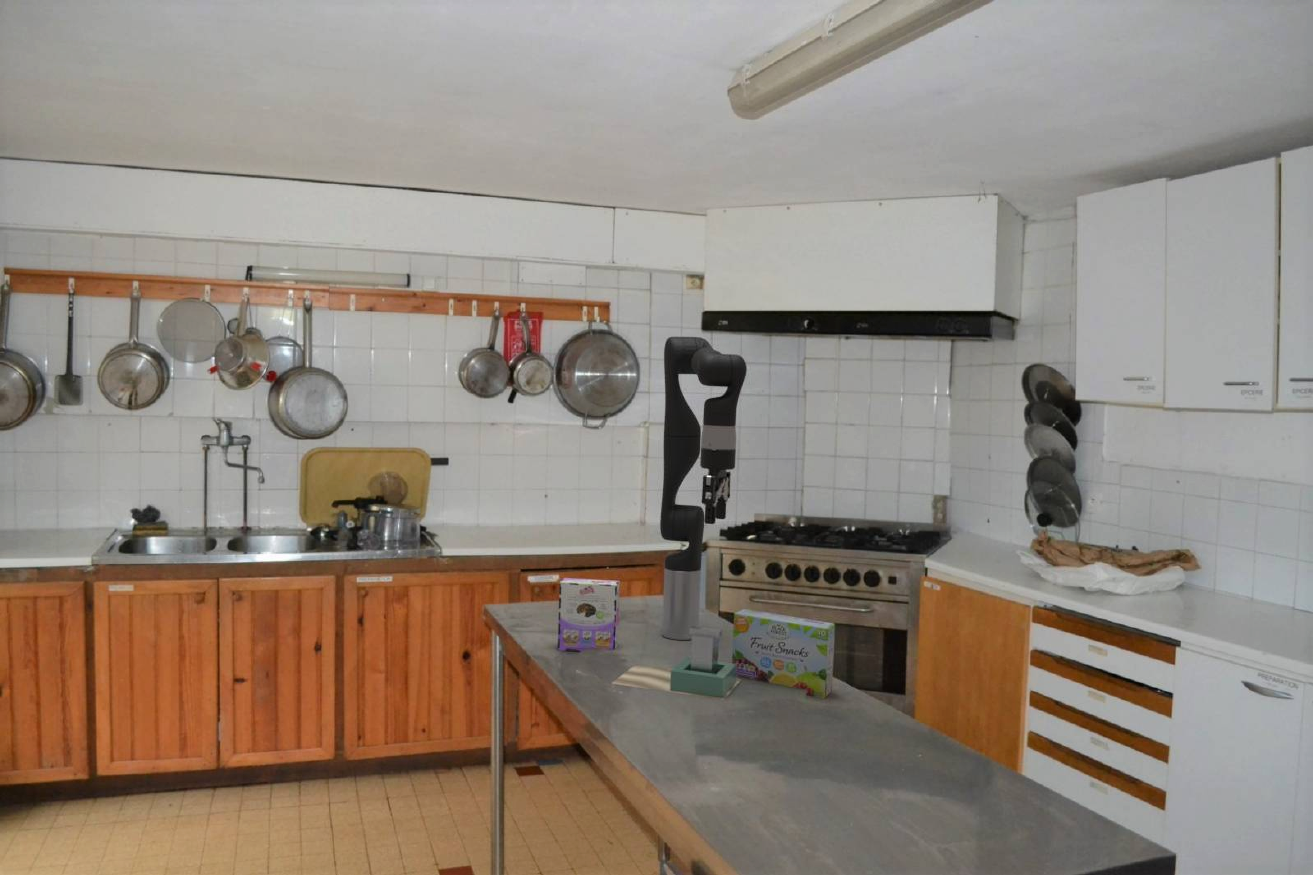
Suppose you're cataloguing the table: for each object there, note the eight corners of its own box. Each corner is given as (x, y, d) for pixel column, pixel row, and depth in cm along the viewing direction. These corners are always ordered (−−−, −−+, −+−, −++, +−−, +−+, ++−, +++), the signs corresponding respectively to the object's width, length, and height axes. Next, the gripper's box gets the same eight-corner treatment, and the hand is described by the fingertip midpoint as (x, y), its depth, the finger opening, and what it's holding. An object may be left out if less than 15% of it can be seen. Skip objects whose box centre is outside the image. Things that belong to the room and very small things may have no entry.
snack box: (729, 681, 207) (732, 612, 207) (740, 675, 212) (743, 607, 212) (824, 699, 198) (828, 627, 197) (833, 692, 203) (836, 621, 202)
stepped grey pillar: (691, 681, 202) (694, 624, 202) (721, 685, 200) (723, 628, 200) (685, 687, 198) (687, 629, 198) (715, 691, 196) (717, 633, 195)
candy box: (618, 648, 230) (620, 579, 229) (614, 654, 224) (617, 584, 224) (561, 644, 232) (563, 576, 231) (556, 650, 226) (558, 581, 225)
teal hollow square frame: (686, 675, 206) (686, 657, 206) (736, 682, 202) (736, 663, 202) (670, 690, 196) (670, 671, 195) (722, 698, 192) (723, 678, 192)
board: (635, 669, 213) (636, 664, 213) (741, 684, 205) (741, 679, 205) (610, 689, 199) (611, 683, 199) (723, 705, 191) (723, 699, 191)
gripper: (710, 444, 215) (707, 516, 216) (692, 447, 202) (689, 523, 203) (743, 446, 213) (740, 518, 214) (726, 449, 200) (723, 526, 200)
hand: (715, 521), depth 208 cm, fingers open, 8 cm apart
